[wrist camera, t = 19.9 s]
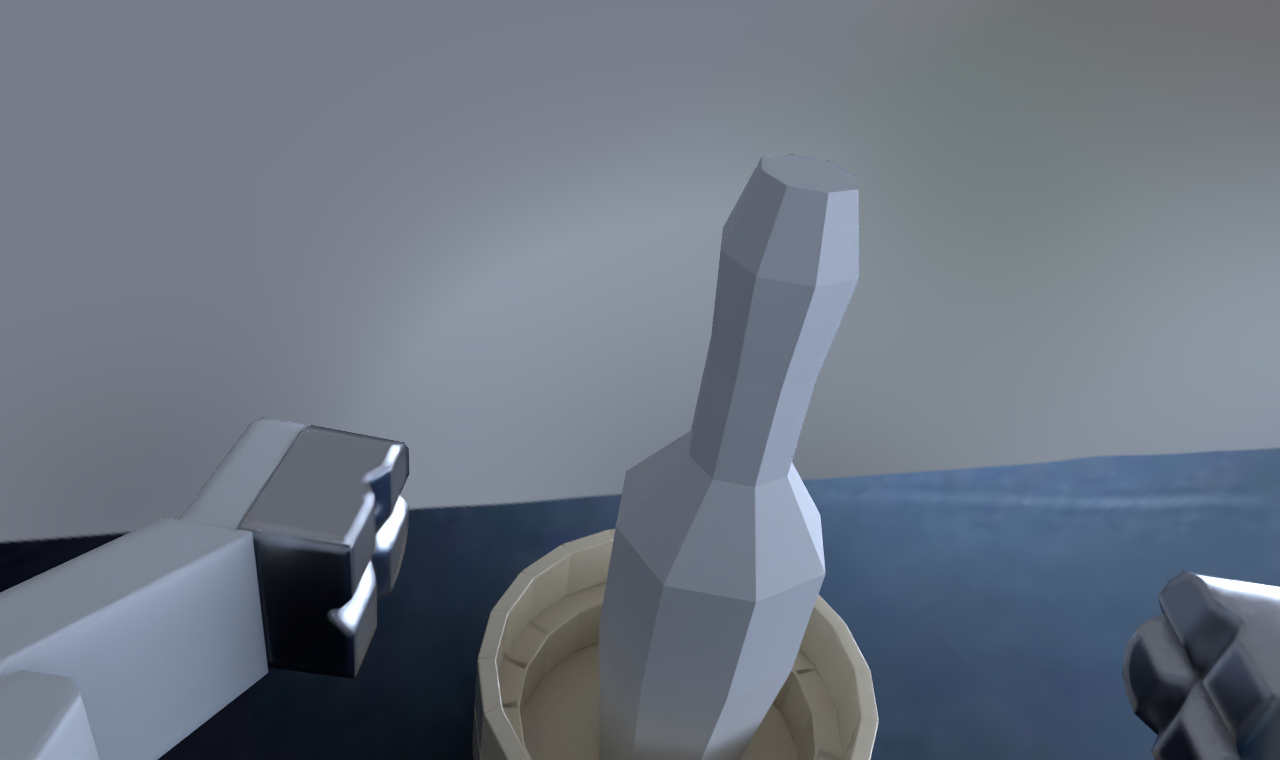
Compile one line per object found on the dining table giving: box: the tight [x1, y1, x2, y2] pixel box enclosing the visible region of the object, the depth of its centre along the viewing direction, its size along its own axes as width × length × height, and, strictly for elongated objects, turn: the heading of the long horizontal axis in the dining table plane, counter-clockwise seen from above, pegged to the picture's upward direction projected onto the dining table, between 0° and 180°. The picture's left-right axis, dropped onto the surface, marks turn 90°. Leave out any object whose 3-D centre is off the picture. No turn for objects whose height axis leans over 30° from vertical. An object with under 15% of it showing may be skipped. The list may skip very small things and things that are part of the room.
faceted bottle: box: [599, 154, 859, 760], centre depth 27 cm, size 6×6×22 cm
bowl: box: [472, 529, 879, 760], centre depth 32 cm, size 13×13×6 cm
